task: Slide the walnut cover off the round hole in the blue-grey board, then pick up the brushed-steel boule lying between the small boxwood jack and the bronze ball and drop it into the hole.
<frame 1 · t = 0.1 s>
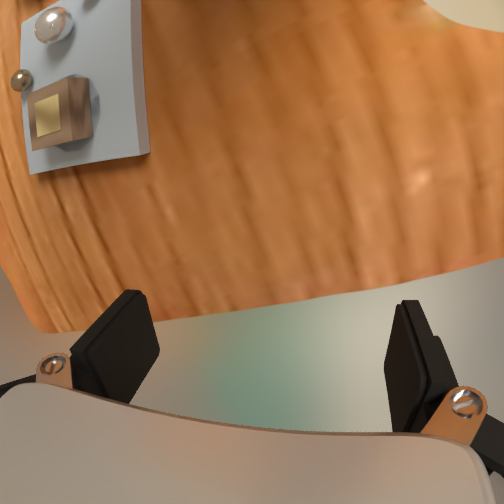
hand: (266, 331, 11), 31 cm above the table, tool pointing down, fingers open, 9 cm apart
hole board: (79, 75, 38), on the table
bronze ball: (21, 80, 35), point 5 cm above the table, touching hole board
walnut cover: (58, 114, 36), point 6 cm above the table, slide at 0.0 cm
steel boule: (53, 25, 30), point 6 cm above the table, touching hole board
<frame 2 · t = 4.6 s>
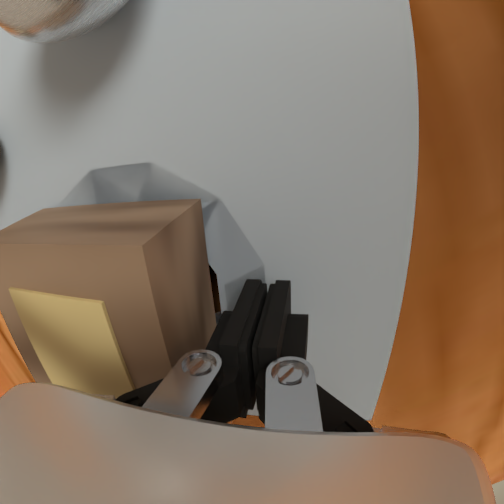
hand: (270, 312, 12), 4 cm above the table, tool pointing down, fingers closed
hole board: (151, 151, 15), on the table
walnut cover: (100, 319, 12), point 6 cm above the table, slide at 0.7 cm, touching gripper
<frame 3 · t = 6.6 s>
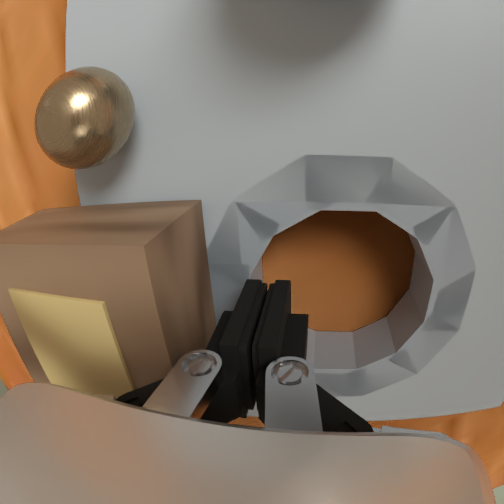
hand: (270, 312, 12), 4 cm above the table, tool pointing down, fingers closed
hole board: (342, 143, 13), on the table
bronze ball: (84, 117, 10), point 5 cm above the table, touching hole board
walnut cover: (100, 320, 12), point 6 cm above the table, slide at 9.7 cm, touching gripper
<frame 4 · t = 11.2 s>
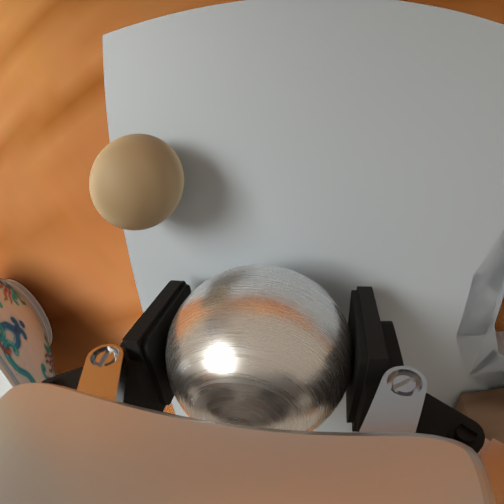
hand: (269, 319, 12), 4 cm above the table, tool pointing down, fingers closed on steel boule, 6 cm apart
hole board: (440, 274, 14), on the table
chinaware: (26, 313, 22), on the table
walnut cover: (500, 458, 11), point 6 cm above the table, slide at 9.5 cm
steel boule: (259, 356, 10), point 6 cm above the table, touching gripper, hole board
boxwood jack: (136, 181, 10), point 5 cm above the table, touching hole board
when the fingers open (6 cm above the table, at t = 15.6 s): steel boule drops 5 cm, point 3 cm above the table.
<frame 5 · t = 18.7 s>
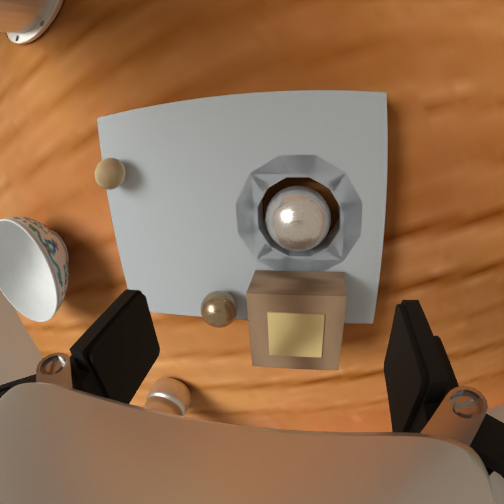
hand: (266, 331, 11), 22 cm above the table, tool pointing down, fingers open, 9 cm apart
hole board: (241, 209, 33), on the table
chinaware: (53, 249, 41), on the table
plastic bottle: (176, 385, 47), on the table
bronze ball: (219, 309, 33), point 5 cm above the table, touching hole board
walnut cover: (297, 321, 31), point 6 cm above the table, slide at 9.5 cm
steel boule: (298, 218, 30), point 3 cm above the table
boxwood jack: (110, 173, 29), point 5 cm above the table, touching hole board
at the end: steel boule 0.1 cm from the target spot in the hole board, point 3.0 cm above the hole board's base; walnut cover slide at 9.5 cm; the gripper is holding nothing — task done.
